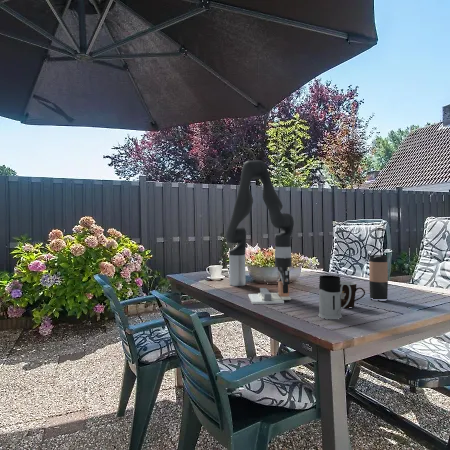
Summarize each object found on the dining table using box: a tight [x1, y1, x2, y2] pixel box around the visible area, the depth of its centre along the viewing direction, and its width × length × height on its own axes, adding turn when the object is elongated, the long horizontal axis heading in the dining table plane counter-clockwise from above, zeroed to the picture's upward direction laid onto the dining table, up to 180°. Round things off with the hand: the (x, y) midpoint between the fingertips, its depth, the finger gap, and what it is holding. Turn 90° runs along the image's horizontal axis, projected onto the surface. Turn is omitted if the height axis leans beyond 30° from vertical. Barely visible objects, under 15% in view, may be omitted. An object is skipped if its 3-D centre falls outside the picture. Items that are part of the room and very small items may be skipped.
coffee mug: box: [340, 280, 366, 309], centre depth 140 cm, size 12×9×10 cm
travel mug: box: [368, 254, 389, 300], centre depth 152 cm, size 8×8×20 cm
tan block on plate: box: [277, 281, 292, 301], centre depth 156 cm, size 12×4×7 cm, turn 2°
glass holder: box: [317, 274, 351, 320], centre depth 124 cm, size 9×14×15 cm, turn 28°
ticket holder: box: [247, 287, 285, 305], centre depth 155 cm, size 16×14×4 cm
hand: (283, 291), depth 156 cm, fingers open, 8 cm apart
